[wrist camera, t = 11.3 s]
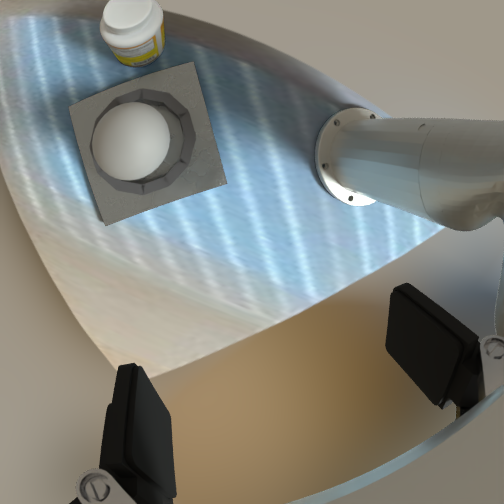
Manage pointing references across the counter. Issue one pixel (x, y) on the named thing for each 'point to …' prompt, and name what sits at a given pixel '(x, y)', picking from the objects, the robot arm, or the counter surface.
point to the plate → (202, 160)
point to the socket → (187, 149)
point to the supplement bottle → (134, 30)
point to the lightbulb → (131, 141)
